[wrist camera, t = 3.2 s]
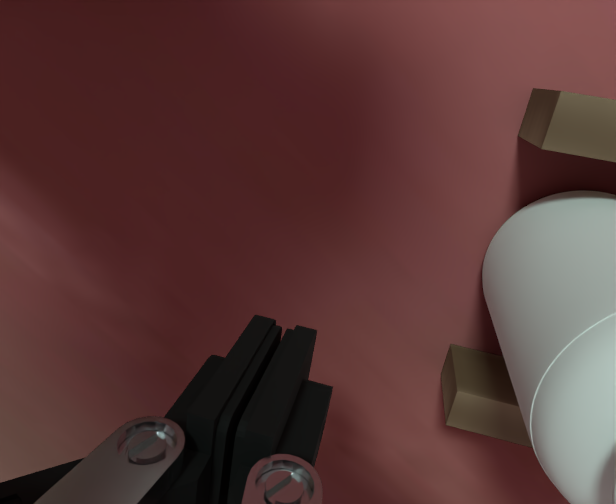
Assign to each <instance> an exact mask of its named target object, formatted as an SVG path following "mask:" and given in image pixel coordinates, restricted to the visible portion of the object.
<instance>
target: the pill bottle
mask: <svg viewBox="0 0 616 504" xmlns="http://www.w3.org/2000/svg"><path fill="white" fill-rule="evenodd" d="M482 282H483V292H484V296H485V300H486V303H487V306H488V309H489V313H490V316H491V319H492V322H493V325H494V328H495V331H496V335H497V338H498V341H499V344H500V347H501V350H502V353H503V357H504V360H505V363H506V366H507V369H508V372H509V375H510V379H511V382H512V385H513V388H514V391H515V394H516V397H517V401H518V404H519V407H520V410H521V413H522V416H523V420H524V423H525V426H526V429H527V432H528V435H529V438H530V441H531V444H532V447H533V449H534V452H535V454H536V457H537V459H538V461H539V463H540V465H541V467H542V469H543V470H544V472H545V473H546V475H547V476H548V478H549V479H550V480H551V482H552V483H553V484H554V485H555V487H556V488H557V489H558V490H559V492H560V493H561V494H562V495H563V496H564V497H565V498H566V499H567V501H568V502H569V503H570V504H616V195H613V194H609V193H605V192H599V191H586V190H580V191H568V192H562V193H557V194H553V195H550V196H547V197H544V198H541V199H539V200H537V201H535V202H533V203H531V204H529V205H527V206H525V207H524V208H522V209H521V210H519V211H518V212H516V213H515V214H514V215H513V216H511V217H510V218H509V219H508V220H507V221H506V222H505V223H504V224H503V225H502V226H501V228H500V229H499V230H498V231H497V233H496V234H495V236H494V237H493V239H492V241H491V243H490V245H489V247H488V249H487V252H486V255H485V258H484V263H483V270H482Z"/></svg>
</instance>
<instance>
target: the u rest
mask: <svg viewBox="0 0 616 504" xmlns="http://www.w3.org/2000/svg"><path fill="white" fill-rule="evenodd" d="M518 136H519V137H521V138H523V139H524V140H526V141H528V142H530V143H532V144H533V145H535V146H537V147H539V148H541V149H544V150H550V151H556V152H561V153H567V154H572V155H578V156H583V157H589V158H594V159H600V160H606V161H611V162H616V100H613V99H607V98H601V97H594V96H588V95H582V94H576V93H570V92H564V91H555V90H545V89H535V88H533V90H532V93H531V97H530V100H529V103H528V106H527V109H526V112H525V115H524V118H523V121H522V124H521V128H520V131H519V134H518ZM441 381H442V391H443V401H444V411H445V421H446V425H448V426H452V427H456V428H459V429H463V430H467V431H471V432H475V433H478V434H482V435H486V436H490V437H493V438H497V439H501V440H505V441H509V442H512V443H516V444H520V445H524V446H527V447H531V448H533V447H532V444H531V441H530V438H529V435H528V432H527V429H526V426H525V423H524V420H523V416H522V413H521V410H520V407H519V404H518V401H517V397H516V394H515V391H514V388H513V385H512V382H511V379H510V375H509V372H508V369H507V366H506V363H505V360H504V357H503V356H498V355H494V354H490V353H486V352H482V351H478V350H474V349H469V348H465V347H461V346H457V345H453V344H450V348H449V351H448V354H447V357H446V360H445V363H444V366H443V369H442V372H441Z"/></svg>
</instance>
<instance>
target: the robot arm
mask: <svg viewBox="0 0 616 504" xmlns="http://www.w3.org/2000/svg"><path fill="white" fill-rule="evenodd" d="M281 334H282V327H280V326H276V320H274V319H270V318H266V317H262V316H258V315H255V316H254V317H253V318H252V320H251V321H250V323H249V324H248V326H247V327H246V329H245V330H244V331H243V333H242V334H241V336H240V337H239V339H238V340H237V342H236V343H235V345H234V346H233V347H232V349H231V350H230V352H229V353H228V355H227V356H226V358H224V357H220V356H216V355H211V356H210V357H209V358H208V359H207V361H206V362H205V363H204V365H203V366H202V367H201V369H200V370H199V371H198V373H197V374H196V375H195V377H194V378H193V379H192V381H191V382H190V383H189V385H188V386H187V387H186V389H185V390H184V391H183V393H182V394H181V395H180V397H179V398H178V399H177V401H176V402H175V403H174V405H173V406H172V407H171V409H170V410H169V411H168V413H167V414H166V415H165V417H164V418H163V417H158V416H147V417H141V418H137V419H134V420H132V421H129V422H127V423H125V424H124V425H122V426H121V427H119V428H118V429H117V430H116V431H115V432H114V433H112V434H111V435H110V436H109V437H108V438H107V439H106V440H105V441H103V442H102V443H101V444H100V445H99V446H98V447H97V448H96V449H94V450H93V451H92V452H91V453H90V454H89V455H88V456H87V457H85V458H82V459H79V460H76V461H72V462H69V463H65V464H62V465H59V466H55V467H52V468H49V469H45V470H42V471H39V472H35V473H32V474H28V475H25V476H22V477H18V478H15V479H12V480H8V481H5V482H2V483H0V504H322V493H323V489H322V482H321V479H320V477H319V475H318V473H317V471H316V470H315V469H314V465H315V461H316V458H317V454H318V450H319V446H320V442H321V438H322V434H323V430H324V426H325V421H326V417H327V412H328V408H329V403H330V399H331V394H332V389H333V387H332V386H328V385H324V384H321V383H317V382H313V381H309V380H308V377H309V372H310V367H311V361H312V356H313V351H314V345H315V340H316V334H317V330H314V329H310V328H306V327H302V326H298V325H296V327H295V329H294V330H292V329H287V330H286V332H285V334H284V336H283V338H282V340H281ZM280 340H281V342H280Z"/></svg>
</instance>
